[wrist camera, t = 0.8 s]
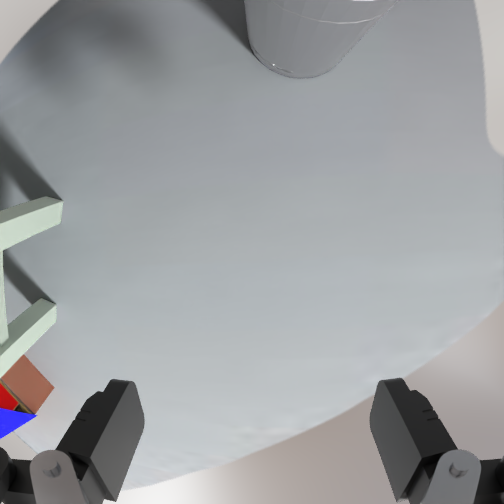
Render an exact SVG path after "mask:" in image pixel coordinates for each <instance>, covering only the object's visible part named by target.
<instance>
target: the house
mask: <svg viewBox="0 0 504 504" xmlns="http://www.w3.org/2000/svg"><path fill="white" fill-rule="evenodd" d="M1 382H2V383H3V384H4V385H3V384H2V383H1ZM53 389H54V387H53V386H52V385H51V384H50V383H49V382H48V381H47V379H46V378H45V377H44V376H43V375H42V374H41V373H40V372H39V371H38V370H37V369H36V368H35V366H34V365H33V364H32V363H31V362H30V361H29V360H28V359H27V357H26V356H25V355H24V354H23V355H22V356H21V357H20V358H19V359H18V360H17V361H16V362H15V363H14V364H13V366H12V367H11V368H10V369H9V370H8V371H7V372H6V373H5V374H4V375H3V376H2V377H1V378H0V439H1V438H2V437H4V436H6V435H7V434H9V433H10V432H12V431H14V430H15V429H17V428H18V427H20V426H22V425H23V424H25V423H26V422H28V421H29V420H31V419H33V418H34V417H36V416H37V415H35V414H36V412H37V411H38V409H39V408H40V407H41V405H42V404H43V402H44V401H45V400H46V398H47V397H48V396H49V394H50V393H51V391H52V390H53ZM10 392H11V393H12V394H13V395H14V396H13V395H12V394H11V393H10ZM19 404H20V405H21V406H22V407H23V408H22V407H21V406H20V405H19ZM18 407H19V408H20V409H21V410H20V409H19V408H18ZM16 408H17V409H18V410H19V411H18V410H17V409H16ZM16 411H17V412H16Z"/></svg>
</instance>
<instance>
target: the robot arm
mask: <svg viewBox="0 0 504 504" xmlns="http://www.w3.org/2000/svg"><path fill="white" fill-rule="evenodd" d="M398 1H399V0H244V4H245V13H246V23H247V31H248V39H249V43H250V47H251V48H252V50H253V52H254V54H255V56H256V57H257V58H258V59H259V61H260V62H261V63H263V64H264V65H265V66H266V67H267V68H269V69H270V70H272V71H274V72H276V73H278V74H281V75H284V76H287V77H292V78H311V77H316V76H320V75H322V74H324V73H326V72H328V71H329V70H331V69H332V68H333V67H335V66H336V65H337V64H338V63H339V61H340V60H341V59H342V58H343V57H344V56H345V55H346V54H347V53H348V52H349V51H350V50H351V49H352V48H353V47H354V46H355V45H356V44H357V43H358V42H359V41H360V40H361V38H362V37H363V36H364V35H365V34H366V33H367V32H368V31H369V30H370V29H371V28H372V27H373V26H374V25H375V24H376V23H377V22H378V21H379V20H380V19H381V18H382V17H383V16H384V15H385V14H386V13H387V12H388V11H389V10H390V9H391V8H392V7H393V6H394V5H395V4H396V3H397V2H398ZM370 428H371V432H372V434H373V437H374V440H375V443H376V445H377V448H378V451H379V454H380V456H381V459H382V462H383V465H384V467H385V470H386V473H387V475H388V479H389V481H390V484H391V487H392V490H393V493H394V496H395V499H396V502H401V501H405V500H409V502H410V504H504V456H503V458H502V459H494V460H479V459H478V458H477V457H476V456H475V455H474V454H472V453H471V452H468V451H466V450H458V449H457V447H456V445H455V444H454V442H453V440H452V438H451V437H450V435H449V433H448V432H447V430H446V429H445V427H444V425H443V423H442V422H441V420H440V419H438V415H437V414H436V412H435V411H433V407H432V406H431V404H430V402H429V401H428V399H427V398H426V397H425V396H423V395H422V394H421V393H419V392H418V391H417V390H413V391H410V390H409V388H408V386H407V385H406V383H405V381H404V380H403V379H402V378H395V379H388V380H381V381H379V383H378V385H377V389H376V393H375V397H374V401H373V405H372V409H371V413H370ZM143 429H144V413H143V410H142V406H141V403H140V399H139V395H138V392H137V388H136V385H135V383H134V382H133V381H125V380H116V379H112V380H110V382H109V383H108V385H107V387H106V388H105V390H104V391H103V392H99V391H98V392H96V393H95V394H94V395H92V396H91V397H90V398H88V399H87V400H86V402H85V403H84V405H83V406H82V408H81V411H80V412H79V413H78V414H77V416H76V417H75V420H74V421H73V422H72V424H71V425H70V427H69V428H68V430H67V432H66V433H65V435H64V436H63V438H62V440H61V441H60V443H59V445H58V446H57V448H56V449H55V450H47V451H43V452H41V453H39V454H38V455H36V456H35V457H34V458H33V460H31V461H30V460H17V459H11V458H10V457H9V455H8V454H7V452H6V451H5V450H4V449H3V448H1V447H0V504H1V502H3V503H4V504H102V503H103V500H104V499H107V500H111V501H115V502H116V501H117V498H118V495H119V493H120V490H121V487H122V484H123V482H124V479H125V476H126V474H127V471H128V469H129V466H130V463H131V461H132V458H133V455H134V453H135V450H136V448H137V445H138V443H139V440H140V437H141V435H142V432H143Z"/></svg>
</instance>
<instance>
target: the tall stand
mask: <svg viewBox="0 0 504 504" xmlns="http://www.w3.org/2000/svg"><path fill="white" fill-rule="evenodd" d="M62 207H63V201H61V200H58V199H54V198H51V197H48V196H45V197H42V198H39V199H35V200H32V201H29V202H26V203H22V204H19V205H16V206H13V207H10V208H7V209H4V210H1V211H0V378H1V377H2V376H3V375H4V374H5V373H6V372H7V371H8V370H9V369H10V368H11V367H12V366H13V364H14V363H15V362H16V361H17V360H18V359H19V358H20V357H21V356H22V355H23V354H24V353H25V352H26V351H27V350H28V349H29V348H30V347H31V346H32V345H33V344H34V343H35V342H36V341H37V340H38V339H39V338H40V337H41V336H42V335H43V334H44V333H45V332H46V331H47V330H48V329H49V328H50V327H51V326H52V325H53V324H54V323H55V322H56V304H54V303H51V302H49V301H47V300H45V299H42V298H40V299H39V300H38V301H37V302H35V303H34V304H33V305H32V306H30V307H29V308H28V309H27V310H25V311H24V312H23V313H22V314H21V315H19V316H18V317H17V318H16V319H15V320H13V321H12V322H11V323H10V324H9V325H7V318H6V308H5V295H4V279H3V250H5V249H7V248H9V247H11V246H13V245H15V244H17V243H19V242H21V241H23V240H25V239H27V238H29V237H31V236H33V235H36V234H38V233H40V232H42V231H44V230H46V229H49V228H51V227H53V226H55V225H57V224H60V223H61V215H62Z"/></svg>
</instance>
